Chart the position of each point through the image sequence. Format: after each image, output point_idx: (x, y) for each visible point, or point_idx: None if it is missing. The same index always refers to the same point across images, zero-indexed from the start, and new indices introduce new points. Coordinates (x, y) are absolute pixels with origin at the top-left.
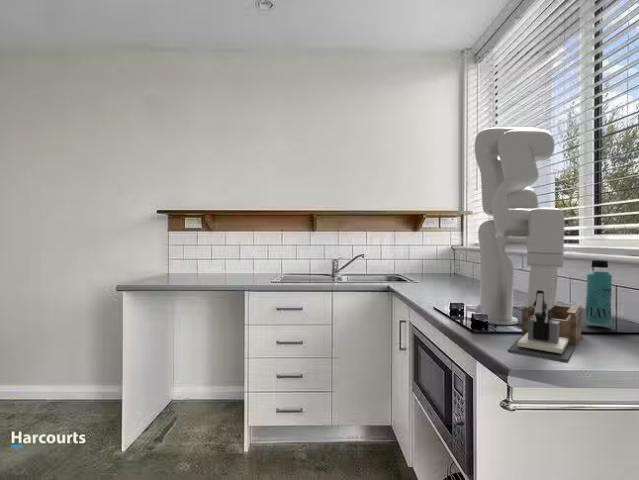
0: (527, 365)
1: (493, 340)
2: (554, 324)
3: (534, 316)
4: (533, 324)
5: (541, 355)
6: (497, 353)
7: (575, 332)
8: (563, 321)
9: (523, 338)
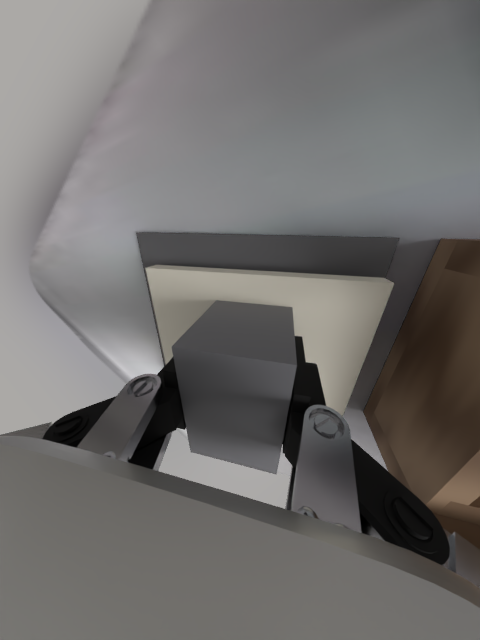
0: (77, 302)
1: (303, 94)
2: (189, 441)
3: (113, 403)
4: (171, 359)
5: (157, 331)
6: (100, 202)
7: (384, 460)
8: (432, 486)
9: (218, 282)
